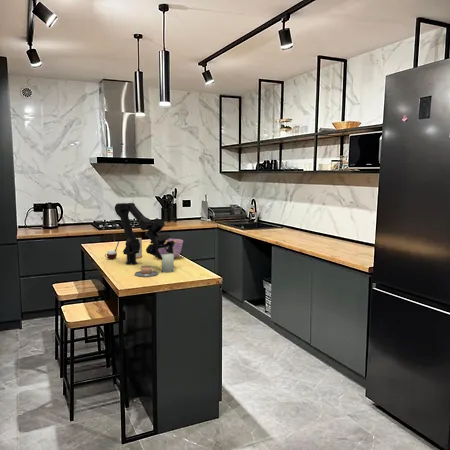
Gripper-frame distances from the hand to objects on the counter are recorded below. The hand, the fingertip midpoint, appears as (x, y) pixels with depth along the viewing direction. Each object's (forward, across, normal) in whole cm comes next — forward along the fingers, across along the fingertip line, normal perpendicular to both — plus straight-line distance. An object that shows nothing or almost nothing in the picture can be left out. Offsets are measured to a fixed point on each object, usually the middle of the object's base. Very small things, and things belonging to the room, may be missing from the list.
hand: (167, 258), depth 243 cm
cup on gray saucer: (+3, -13, +8) cm, 16 cm away
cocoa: (-32, 0, +43) cm, 54 cm away
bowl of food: (-14, +27, +25) cm, 40 cm away
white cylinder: (+5, 0, +6) cm, 8 cm away
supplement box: (-27, +13, +38) cm, 48 cm away
